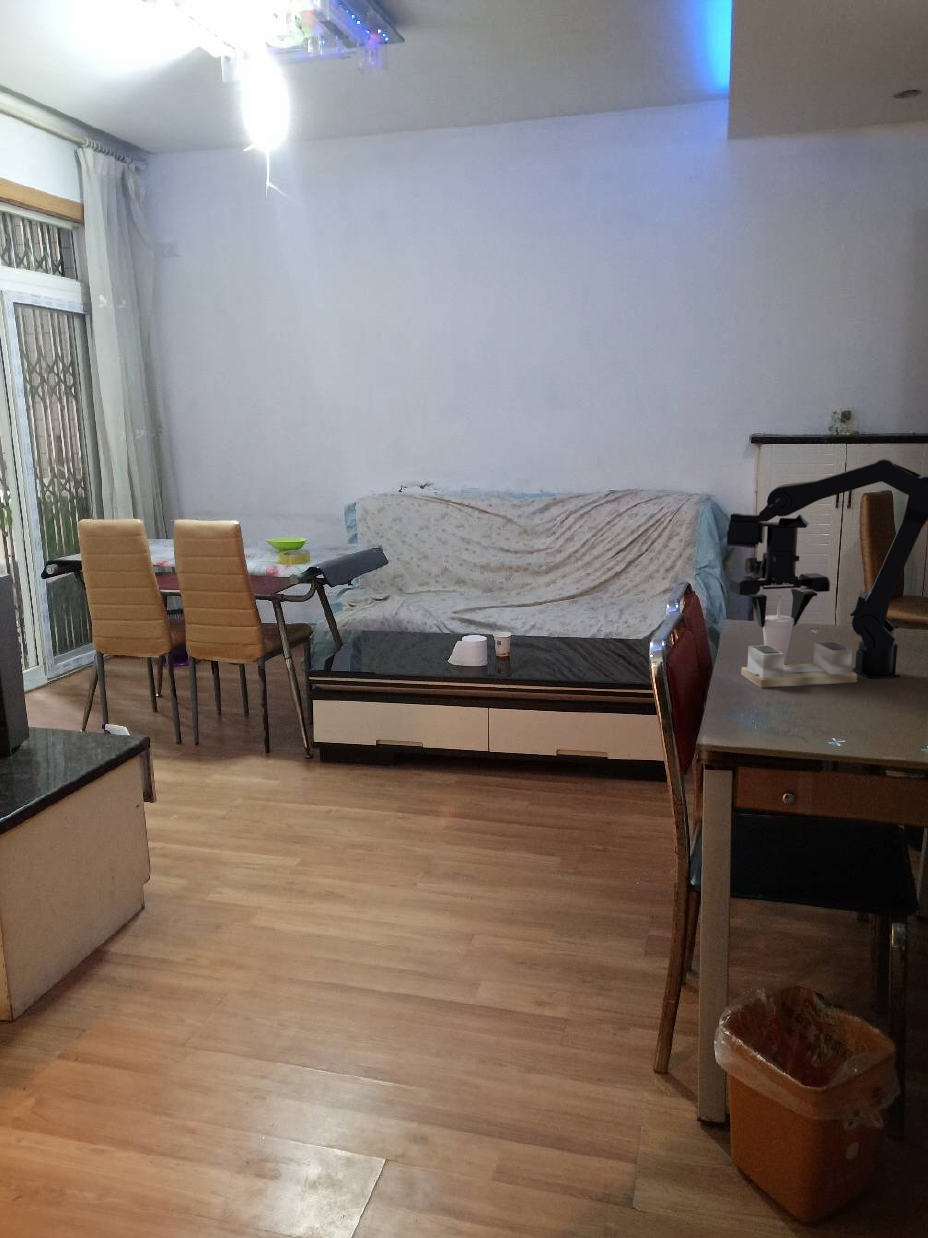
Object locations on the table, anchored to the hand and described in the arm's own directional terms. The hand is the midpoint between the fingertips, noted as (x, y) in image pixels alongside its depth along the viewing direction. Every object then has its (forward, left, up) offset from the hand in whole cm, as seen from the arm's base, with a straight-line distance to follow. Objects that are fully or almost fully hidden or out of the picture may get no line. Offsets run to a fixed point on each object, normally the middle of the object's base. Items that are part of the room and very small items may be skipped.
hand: (777, 626), depth 195 cm
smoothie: (0, 0, -8) cm, 8 cm away
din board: (0, +10, -8) cm, 13 cm away
